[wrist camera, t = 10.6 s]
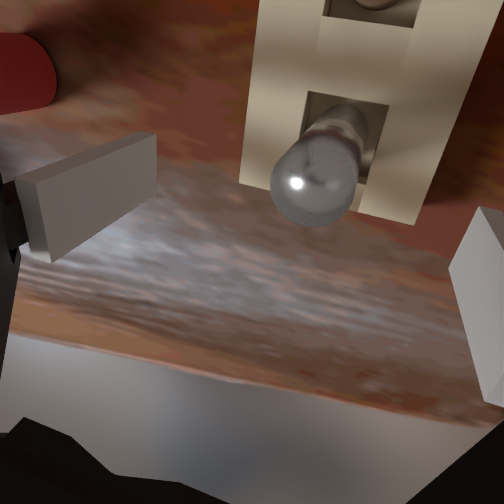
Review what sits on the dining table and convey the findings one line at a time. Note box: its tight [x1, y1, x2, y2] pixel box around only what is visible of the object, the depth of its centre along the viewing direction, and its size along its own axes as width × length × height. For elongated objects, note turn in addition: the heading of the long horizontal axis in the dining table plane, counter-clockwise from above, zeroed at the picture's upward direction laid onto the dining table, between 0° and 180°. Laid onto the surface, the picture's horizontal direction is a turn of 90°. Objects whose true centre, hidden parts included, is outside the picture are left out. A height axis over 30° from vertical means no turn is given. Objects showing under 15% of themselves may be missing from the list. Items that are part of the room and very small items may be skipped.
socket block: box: [239, 0, 504, 225], centre depth 25 cm, size 20×14×6 cm
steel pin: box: [270, 104, 368, 227], centre depth 23 cm, size 4×4×14 cm
